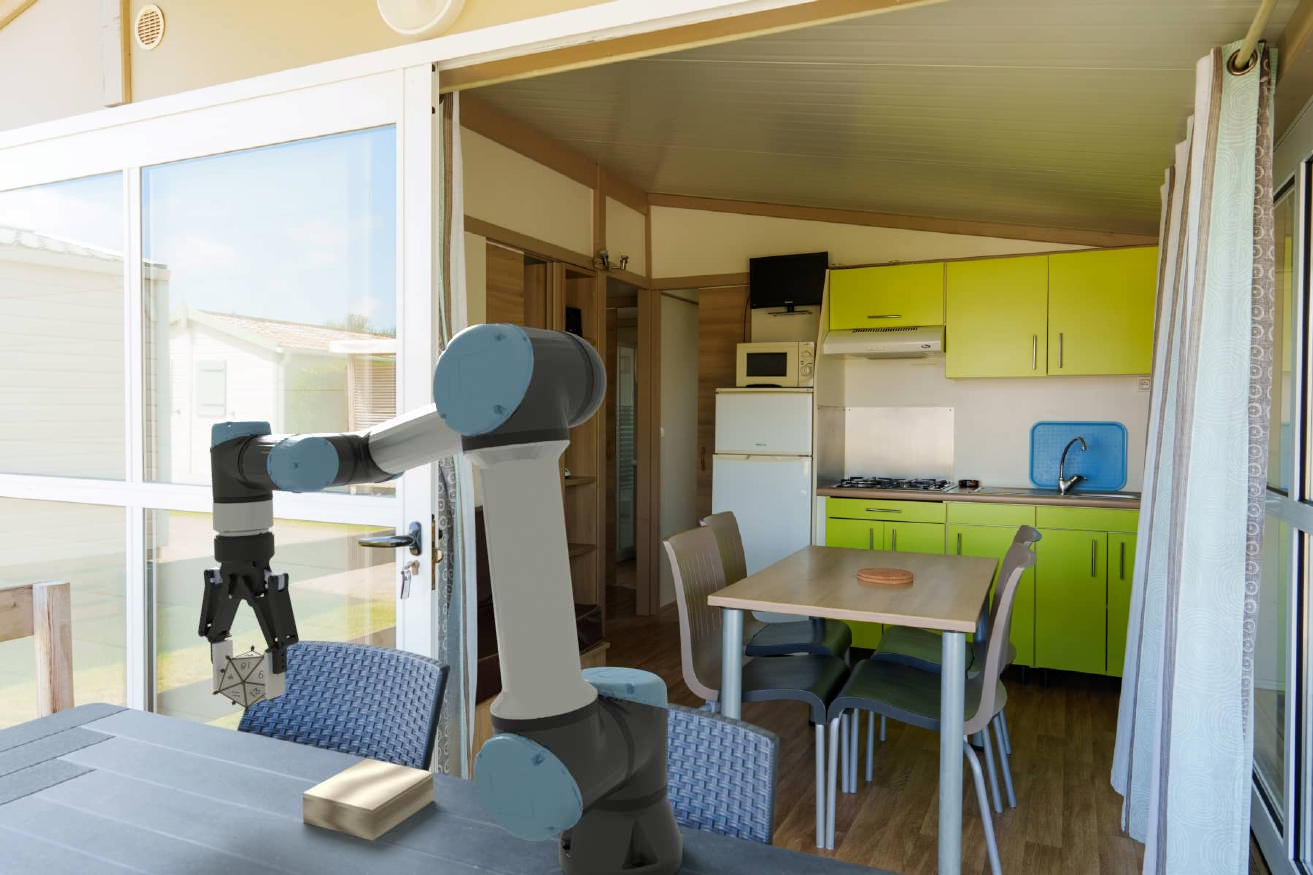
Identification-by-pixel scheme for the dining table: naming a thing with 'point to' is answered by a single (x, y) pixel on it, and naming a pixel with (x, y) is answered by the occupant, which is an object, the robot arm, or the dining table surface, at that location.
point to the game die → (244, 679)
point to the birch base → (368, 798)
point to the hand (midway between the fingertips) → (249, 691)
